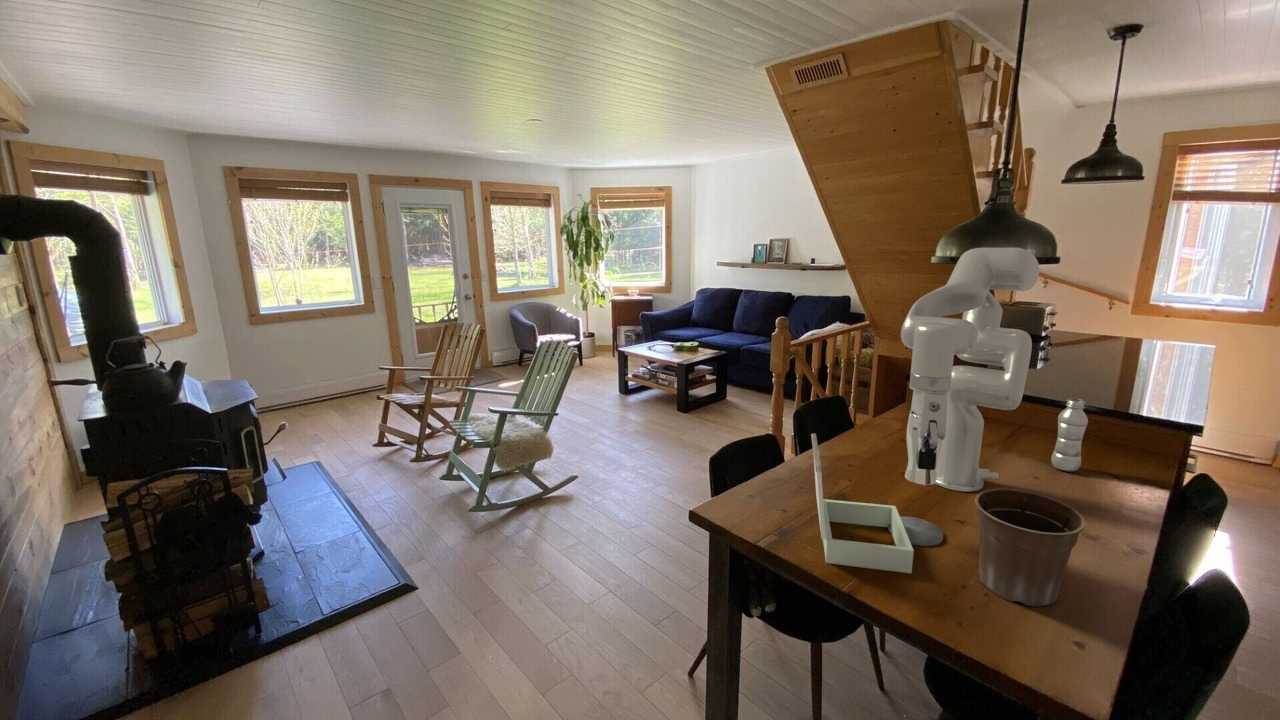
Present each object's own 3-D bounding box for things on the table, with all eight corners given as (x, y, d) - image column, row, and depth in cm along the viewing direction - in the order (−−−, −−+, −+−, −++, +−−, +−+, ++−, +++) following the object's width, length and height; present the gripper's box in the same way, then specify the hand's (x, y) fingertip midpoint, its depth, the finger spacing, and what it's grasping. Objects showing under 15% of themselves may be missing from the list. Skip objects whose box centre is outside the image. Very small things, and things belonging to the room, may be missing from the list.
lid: (815, 433, 121) (811, 433, 122) (821, 466, 104) (815, 466, 105) (820, 497, 124) (815, 497, 125) (825, 539, 108) (820, 539, 108)
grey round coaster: (935, 522, 122) (935, 519, 122) (949, 549, 112) (949, 545, 112) (883, 517, 125) (884, 514, 125) (892, 543, 115) (893, 539, 115)
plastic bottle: (1054, 472, 145) (1065, 402, 141) (1046, 462, 151) (1057, 395, 147) (1083, 475, 143) (1096, 405, 138) (1074, 465, 149) (1086, 397, 144)
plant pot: (1034, 627, 90) (1048, 542, 86) (946, 574, 104) (955, 499, 100) (1091, 599, 96) (1106, 519, 92) (1000, 552, 110) (1011, 481, 107)
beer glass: (930, 472, 119) (936, 408, 115) (944, 486, 112) (952, 419, 108) (897, 471, 119) (903, 408, 116) (909, 485, 113) (916, 419, 109)
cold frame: (893, 525, 122) (895, 505, 120) (911, 573, 105) (913, 550, 103) (820, 518, 126) (821, 499, 124) (825, 562, 109) (827, 541, 108)
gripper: (963, 395, 102) (953, 481, 106) (938, 372, 118) (930, 448, 122) (920, 393, 103) (911, 477, 108) (901, 371, 120) (895, 445, 124)
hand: (921, 461), depth 115 cm, fingers closed on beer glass, 6 cm apart
